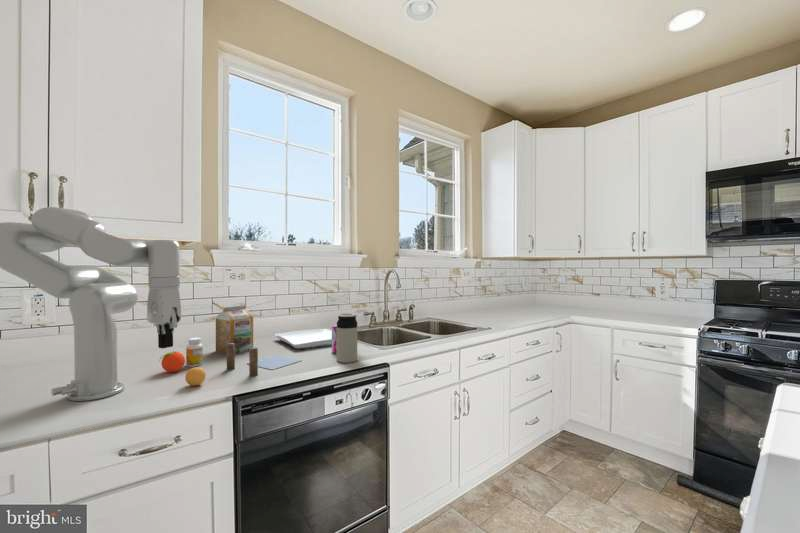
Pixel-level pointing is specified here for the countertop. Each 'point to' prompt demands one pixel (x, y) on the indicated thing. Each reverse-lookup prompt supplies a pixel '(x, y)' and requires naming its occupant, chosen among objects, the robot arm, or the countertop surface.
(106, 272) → the robot arm
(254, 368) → the right post
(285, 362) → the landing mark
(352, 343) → the travel mug
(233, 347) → the left post
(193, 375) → the ball
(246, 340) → the milk carton
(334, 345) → the supplement box
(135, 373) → the countertop surface
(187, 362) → the supplement bottle
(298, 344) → the square plate
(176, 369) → the tomato
